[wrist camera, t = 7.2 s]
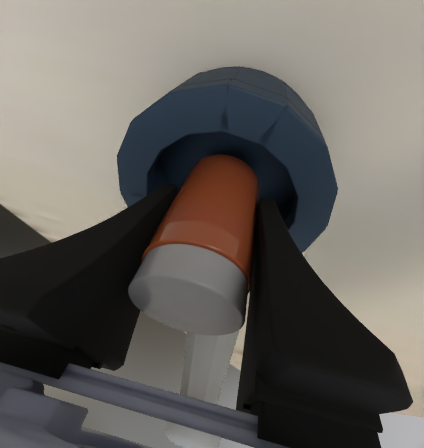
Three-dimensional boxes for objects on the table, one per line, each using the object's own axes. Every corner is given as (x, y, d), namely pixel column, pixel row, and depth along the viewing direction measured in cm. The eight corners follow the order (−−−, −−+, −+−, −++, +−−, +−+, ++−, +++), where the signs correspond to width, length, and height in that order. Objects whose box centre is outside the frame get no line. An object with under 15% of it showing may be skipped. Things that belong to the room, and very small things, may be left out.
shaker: (239, 139, 10) (202, 263, 5) (270, 204, 12) (268, 338, 7) (173, 171, 12) (98, 283, 7) (210, 222, 14) (174, 337, 9)
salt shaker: (188, 284, 25) (140, 432, 16) (212, 264, 22) (166, 444, 12) (228, 304, 27) (204, 451, 18) (257, 288, 23) (246, 467, 14)
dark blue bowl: (284, 9, 8) (290, 1, 5) (335, 199, 14) (354, 254, 10) (124, 128, 13) (75, 161, 10) (206, 234, 19) (192, 279, 15)
